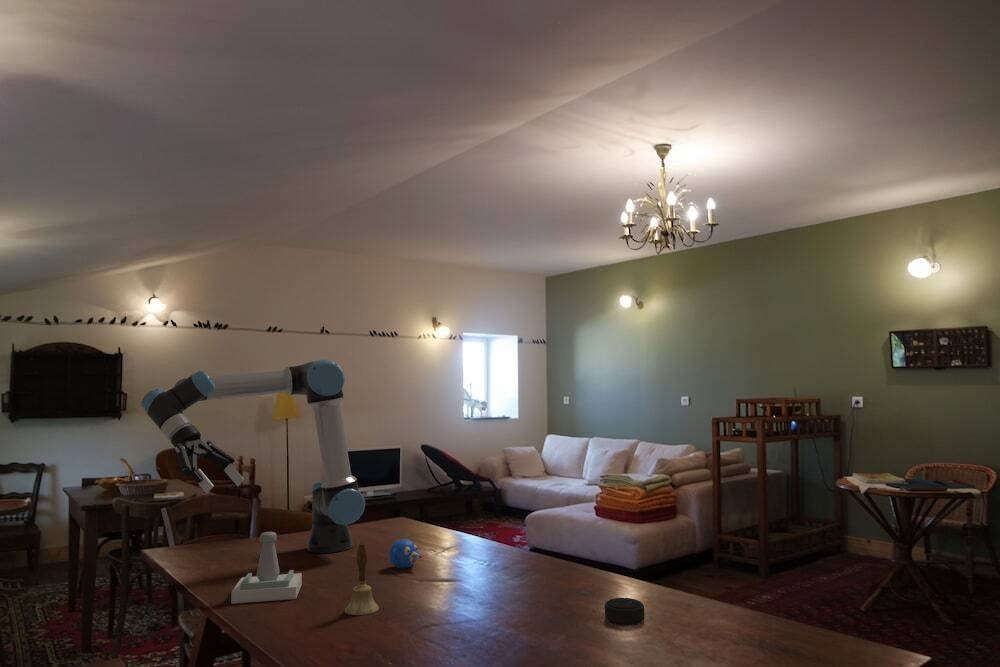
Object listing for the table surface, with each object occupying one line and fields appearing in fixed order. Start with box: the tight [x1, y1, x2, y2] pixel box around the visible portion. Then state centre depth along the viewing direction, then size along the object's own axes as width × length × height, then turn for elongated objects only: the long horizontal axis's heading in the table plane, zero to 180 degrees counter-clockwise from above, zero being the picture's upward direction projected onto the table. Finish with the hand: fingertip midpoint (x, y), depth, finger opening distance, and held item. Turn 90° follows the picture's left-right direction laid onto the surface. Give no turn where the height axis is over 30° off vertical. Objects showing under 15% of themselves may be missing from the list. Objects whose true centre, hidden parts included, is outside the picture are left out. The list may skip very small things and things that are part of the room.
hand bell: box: [344, 542, 380, 616], centre depth 167 cm, size 8×8×16 cm
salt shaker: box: [256, 531, 280, 582], centre depth 183 cm, size 6×6×13 cm
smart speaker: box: [604, 597, 646, 627], centre depth 155 cm, size 9×9×4 cm
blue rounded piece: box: [388, 538, 423, 569], centre depth 205 cm, size 12×12×8 cm
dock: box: [230, 569, 303, 604], centre depth 182 cm, size 16×14×4 cm
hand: (226, 486), depth 192 cm, fingers open, 13 cm apart
